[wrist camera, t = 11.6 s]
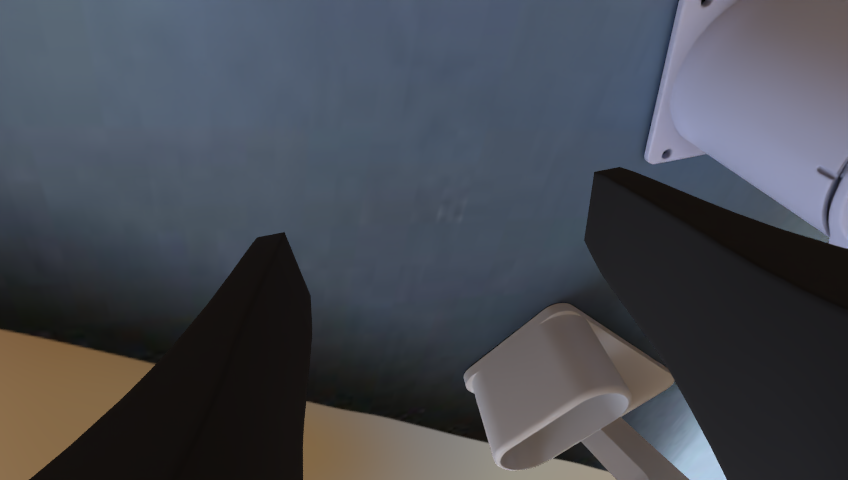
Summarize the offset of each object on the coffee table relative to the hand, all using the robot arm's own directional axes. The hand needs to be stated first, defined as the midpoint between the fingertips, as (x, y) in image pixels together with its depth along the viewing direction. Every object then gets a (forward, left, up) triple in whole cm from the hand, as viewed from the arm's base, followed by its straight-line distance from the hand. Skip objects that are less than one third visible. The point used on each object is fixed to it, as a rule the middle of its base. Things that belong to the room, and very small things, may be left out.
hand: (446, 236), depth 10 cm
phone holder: (-10, +25, -11) cm, 29 cm away
